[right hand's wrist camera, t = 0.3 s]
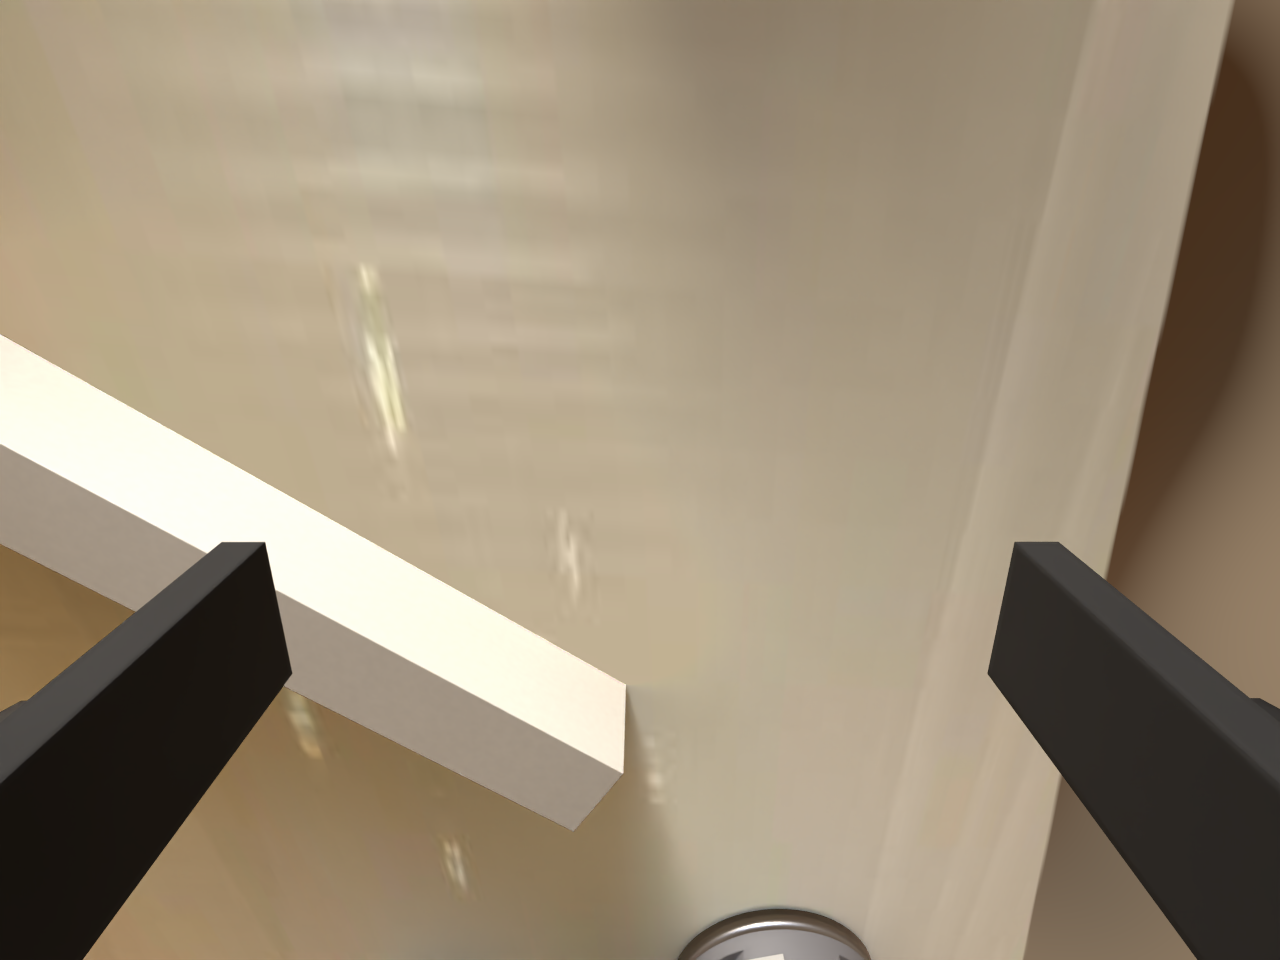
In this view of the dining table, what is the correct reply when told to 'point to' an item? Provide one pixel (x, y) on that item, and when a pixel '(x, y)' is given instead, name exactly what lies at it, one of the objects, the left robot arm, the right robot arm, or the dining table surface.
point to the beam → (304, 594)
